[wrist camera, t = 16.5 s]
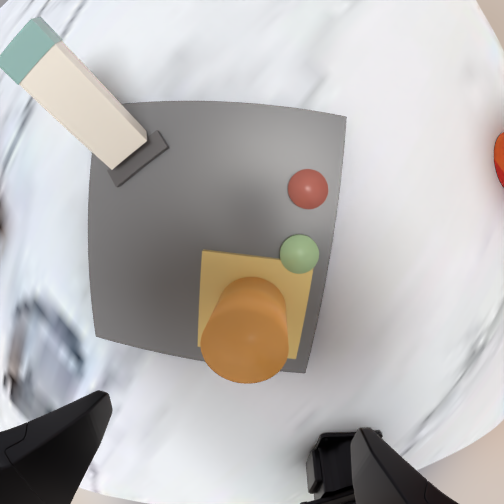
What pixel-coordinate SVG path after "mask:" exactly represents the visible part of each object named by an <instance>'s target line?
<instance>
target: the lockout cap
mask: <svg viewBox="0 0 504 504" xmlns="http://www.w3.org/2000/svg"><path fill="white" fill-rule="evenodd" d="M200 347H201V352H202V355H203V358H204V360H205V362H206V363H207V364H208V366H209V367H210V368H211V369H212V370H213V371H214V372H215V373H217V374H218V375H219V376H221V377H223V378H225V379H227V380H230V381H233V382H237V383H257V382H261V381H264V380H267V379H269V378H271V377H273V376H274V375H275V374H277V373H278V372H279V371H280V370H281V369H282V367H283V366H284V364H285V362H286V360H287V357H288V352H289V344H288V330H287V316H286V304H285V300H284V297H283V295H282V293H281V292H280V290H279V289H278V288H277V287H276V286H275V285H274V284H272V283H271V282H269V281H267V280H265V279H262V278H258V277H244V278H240V279H237V280H235V281H233V282H232V283H230V284H229V285H228V286H227V287H226V288H225V289H224V290H223V292H222V294H221V296H220V298H219V300H218V302H217V304H216V306H215V308H214V310H213V312H212V314H211V316H210V318H209V320H208V322H207V324H206V327H205V329H204V331H203V333H202V336H201V342H200Z"/></svg>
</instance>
